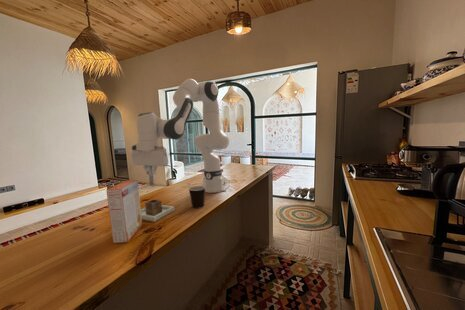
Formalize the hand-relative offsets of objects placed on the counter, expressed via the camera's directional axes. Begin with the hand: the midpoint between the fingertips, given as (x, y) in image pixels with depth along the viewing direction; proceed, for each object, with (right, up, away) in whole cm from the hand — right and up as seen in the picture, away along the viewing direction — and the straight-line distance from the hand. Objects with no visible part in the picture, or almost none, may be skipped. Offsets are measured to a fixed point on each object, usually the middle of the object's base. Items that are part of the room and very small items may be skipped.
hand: (150, 174), depth 98 cm
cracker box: (-2, -23, -17) cm, 28 cm away
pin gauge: (0, -5, 0) cm, 5 cm away
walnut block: (+1, -20, +2) cm, 20 cm away
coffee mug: (+21, -19, +13) cm, 31 cm away
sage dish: (+1, -20, +2) cm, 20 cm away
